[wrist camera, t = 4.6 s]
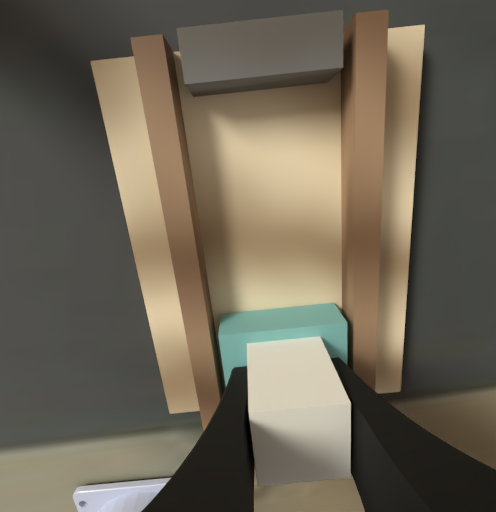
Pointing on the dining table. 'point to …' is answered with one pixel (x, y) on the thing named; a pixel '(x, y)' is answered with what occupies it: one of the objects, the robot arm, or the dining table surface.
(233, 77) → the track
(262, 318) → the slider
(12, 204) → the dining table surface
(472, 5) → the dining table surface
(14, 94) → the dining table surface
